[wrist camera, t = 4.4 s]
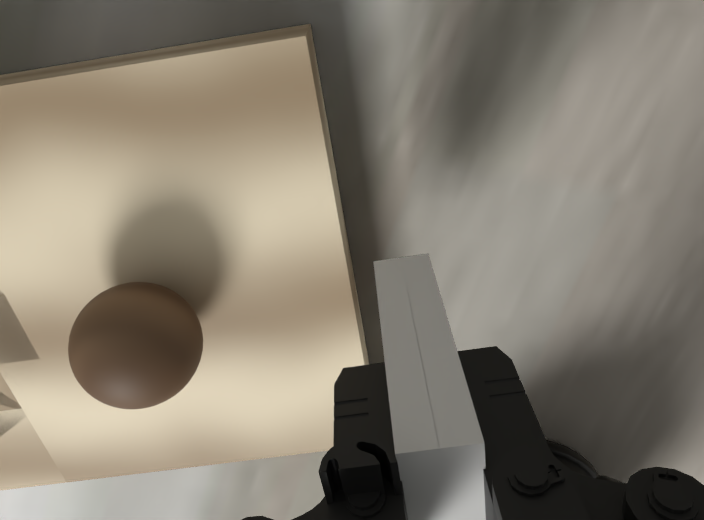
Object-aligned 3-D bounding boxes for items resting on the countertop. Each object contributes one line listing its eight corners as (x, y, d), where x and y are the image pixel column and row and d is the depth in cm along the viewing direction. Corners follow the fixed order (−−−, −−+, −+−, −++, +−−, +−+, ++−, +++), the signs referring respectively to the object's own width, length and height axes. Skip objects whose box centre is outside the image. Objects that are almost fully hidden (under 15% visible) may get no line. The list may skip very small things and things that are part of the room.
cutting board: (-350, 132, 16) (-455, 160, 14) (310, 23, 15) (305, 36, 13) (-95, 455, 23) (-139, 507, 21) (374, 395, 22) (379, 444, 20)
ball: (79, 268, 16) (18, 342, 13) (195, 251, 16) (161, 322, 13) (121, 360, 18) (76, 444, 15) (226, 346, 18) (203, 428, 15)
